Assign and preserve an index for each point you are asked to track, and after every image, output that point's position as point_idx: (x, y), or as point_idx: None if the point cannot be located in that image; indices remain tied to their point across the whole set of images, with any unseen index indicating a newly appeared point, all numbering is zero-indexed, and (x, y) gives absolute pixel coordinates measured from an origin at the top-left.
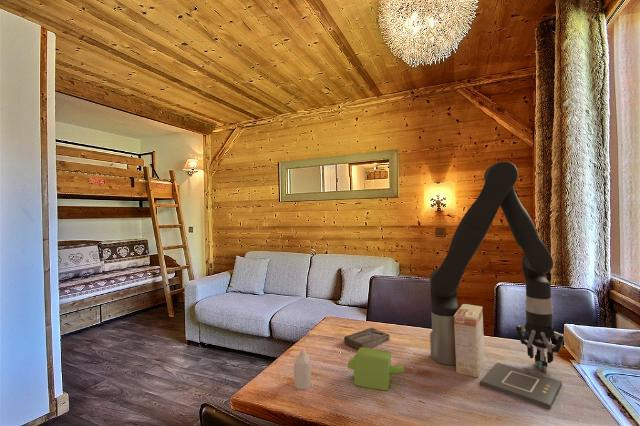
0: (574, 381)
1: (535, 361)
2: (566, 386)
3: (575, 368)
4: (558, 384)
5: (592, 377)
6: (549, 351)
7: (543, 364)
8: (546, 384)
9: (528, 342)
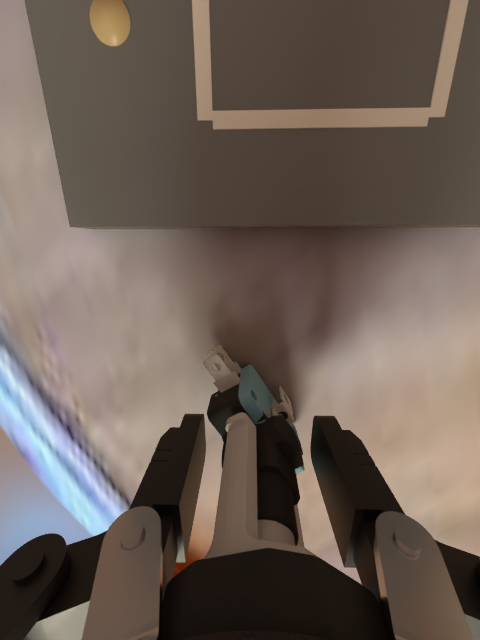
0: (64, 340)
1: (289, 415)
2: (66, 232)
3: (118, 492)
4: (62, 138)
5: (27, 446)
6: (139, 518)
7: (231, 393)
8: (127, 51)
9: (451, 614)
